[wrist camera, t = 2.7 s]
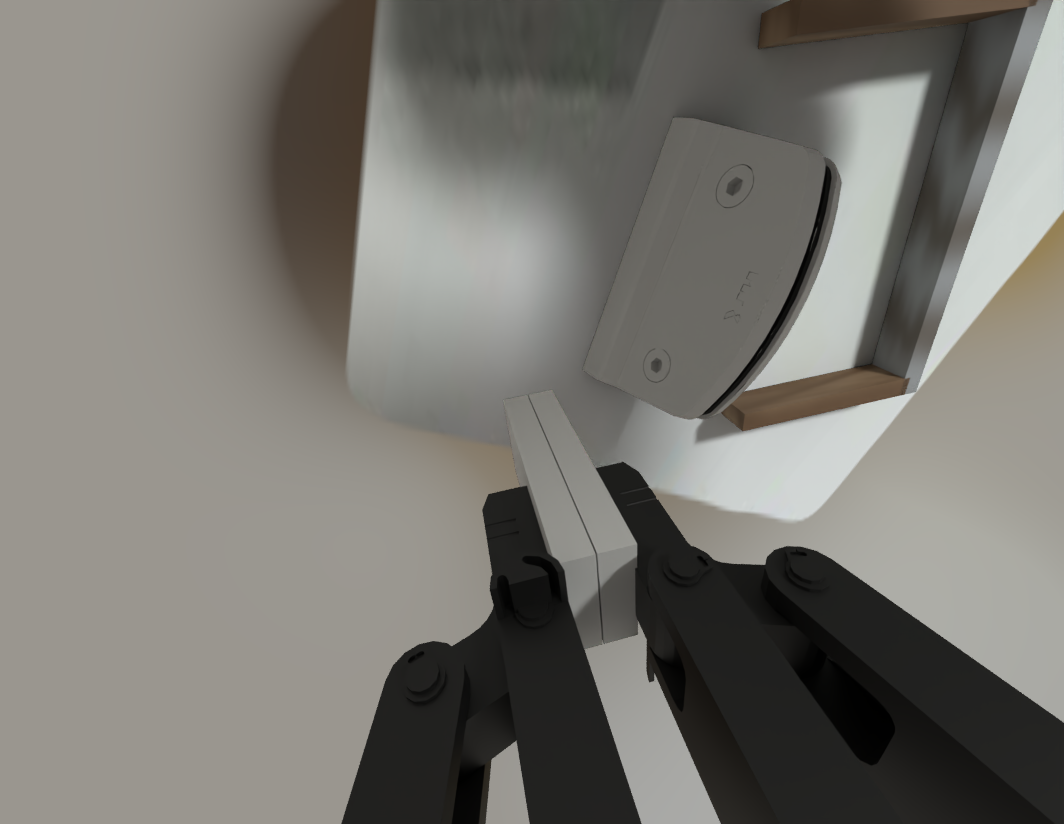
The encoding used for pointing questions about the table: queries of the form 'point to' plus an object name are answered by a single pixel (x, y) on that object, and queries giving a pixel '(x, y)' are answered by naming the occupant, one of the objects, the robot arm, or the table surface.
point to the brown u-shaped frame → (947, 193)
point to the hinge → (714, 267)
